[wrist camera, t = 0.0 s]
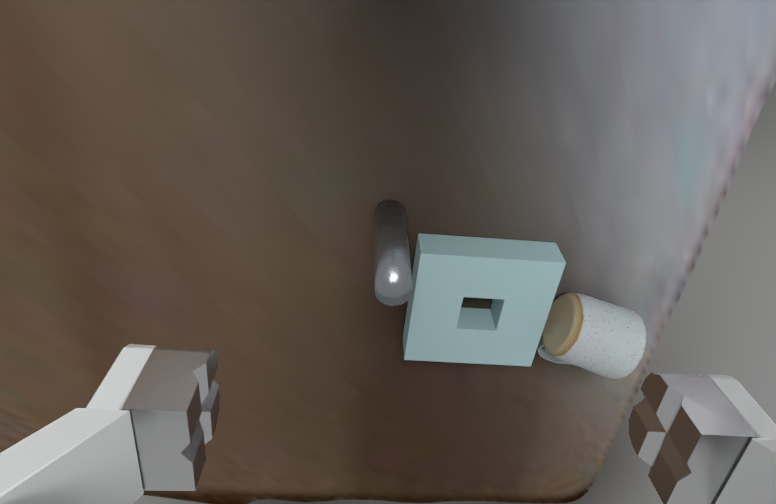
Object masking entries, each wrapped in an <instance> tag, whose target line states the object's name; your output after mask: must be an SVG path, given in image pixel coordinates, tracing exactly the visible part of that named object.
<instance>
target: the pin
mask: <svg viewBox="0 0 776 504" xmlns="http://www.w3.org/2000/svg"><path fill="white" fill-rule="evenodd" d="M374 215H375V295H376V297H377V299H378V300H379V301H380V302H382V303H383V304H386V305H389V306H397V305H401V304H404V303H405V302H407V301H408V300H409V299H410V298H411V296H412V294H413V286H412V275H411V265H410V254H409V244H408V233H407V223H406V213H405V209H404V207H403V205H402V204H401V203H399V202H397V201H394V200H386V201H383V202H381V203H380V204H379V205H378V206H377V207H376V209H375V214H374Z"/></svg>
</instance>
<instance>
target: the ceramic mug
mask: <svg viewBox="0 0 776 504" xmlns="http://www.w3.org/2000/svg"><path fill="white" fill-rule="evenodd" d="M646 337H647V335H646V328H645V325H644V322H643V320H642V318H641V317H640V316H639V315H638V314H637V313H636V312H635V311H633V310H630V309H627V308H624V307H620V306H617V305H614V304H611V303H608V302H605V301H602V300H599V299H596V298H593V297H590V296H587V295H584V294H578V293H565V294H563V295H561V296H559V297H558V298H557V299H556V300H555V301H554V302H553V303H552V306H551V308H550V311H549V314H548V317H547V320H546V323H545V326H544V329H543V332H542V335H541V338H540V341H539V344H538V347H537V350H538V354H539V355H540V356H541V357H542V358H544V359H546V360H548V361H551V362H555V363H560V364H573V365H576V366H578V367H581V368H584V369H586V370H588V371H591V372H594V373H596V374H599V375H601V376H604V377H607V378H610V379H619V378H623V377H625V376H627V375H629V374H630V373H631V372H632V371H633V370H634V369H635V368H636V367H637V365H638V364H639V362H640V360H641V358H642V356H643V354H644V350H645V346H646Z"/></svg>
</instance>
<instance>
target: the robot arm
mask: <svg viewBox="0 0 776 504" xmlns="http://www.w3.org/2000/svg"><path fill="white" fill-rule="evenodd" d="M217 368H218V366H217V357H216V352H215V351H214V350H211V349H197V348H184V347H171V346H152V345H137V344H129V345H127V346H126V347H124V348H123V349H122V351H121V352H120V354H119V355H118V357H117V359H116V360H115V362H114V363H113V365H112V367H111V368H110V370H109V371H108V373H107V375H106V376H105V378H104V380H103V381H102V383H101V384H100V386H99V388H98V389H97V391H96V392H95V394H94V396H93V397H92V399H91V400H90V402H89V404H88V405H87V407H86V408H85V409H84V408H76V409H74V410H73V411H71V412H69V413H68V414H66V415H64V416H62V417H61V418H59V419H57V420H56V421H54V422H52V423H51V424H49V425H47V426H46V427H44V428H42V429H40V430H39V431H37V432H35V433H34V434H32V435H30V436H29V437H27V438H25V439H23V440H22V441H20V442H18V443H17V444H15V445H13V446H12V447H10V448H8V449H6V450H5V451H3V452H1V453H0V504H133V503H134V502H135V501H136V500H137V499H138V498H139V497H141V496H142V495H143V494H144V491H143V490H158V491H195V490H196V487H197V484H198V481H199V478H200V475H201V472H202V469H203V466H204V463H205V460H206V455H205V444H206V443H207V442H208V441H210V440H211V439H212V438H213V435H214V431H215V428H216V424H217V418H218V412H219V398H220V396H219V386H218V385H217V384H216V383H215V382H214V381H213V379H214V376H215V373H216V371H217ZM641 390H642V392H643V394H644V396H645V398H644V399H643V400H641V401H640V402H639V403H638V404H636V405H635V406H634V407H633V410H632V413H631V415H630V418H629V435H630V439H631V442H632V445H633V448H634V449H635V452H636V454H637V455H638V456H639V457H640V458H641V459H642V460H644V461H645V462H646V463H648V464H649V465H650V466H651V468H650V472H649V475H648V476H649V478H650V480H651V482H652V484H653V485H654V487H655V489H656V491H657V493H658V495H659V496H660V498H661V500H662V502H663V504H776V425H775V424H774V423H773V421H772V420H771V419H770V418H769V416H768V415H767V414H766V413H765V412H764V411H763V410H762V408H761V407H760V406H759V405H758V404H757V403H756V402H755V400H754V399H753V398H752V397H751V396H750V395H749V393H748V392H747V391H746V390H745V389H744V388H743V386H742V385H741V384H740V383H739V382H738V381H737V380H736V379H734V378H733V377H731V376H729V375H687V374H666V373H664V374H663V373H651V374H649V375H648V376H647V377H646V378H645V380H644V383H643V385H642V387H641Z"/></svg>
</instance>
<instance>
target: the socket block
mask: <svg viewBox="0 0 776 504" xmlns="http://www.w3.org/2000/svg"><path fill="white" fill-rule="evenodd" d="M565 264H566V262H565V260H564V258H563V256H562V254H561V252H560V250H559V248H558V246H557V244H556V243H553V242H538V241H523V240H509V239H494V238H480V237H465V236H450V235H436V234H421V233H418V238H417V245H416V252H415V258H414V265H413V272H412V286H413V294H412V296H411V298H410V299H409V300H408V305H407V312H406V319H405V326H404V332H403V349H404V360H417V361H436V362H455V363H475V364H494V365H513V366H531V364H532V362H533V359H534V356H535V353H536V350H537V347H538V344H539V341H540V338H541V335H542V332H543V329H544V326H545V323H546V320H547V317H548V314H549V311H550V308H551V306H552V303H553V300H554V297H555V294H556V291H557V288H558V285H559V282H560V279H561V276H562V273H563V270H564V267H565ZM463 297H470V298H487V299H493V300H492V304H491V308H490V309H482V308H465V307H461V305H462V301H463Z"/></svg>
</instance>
